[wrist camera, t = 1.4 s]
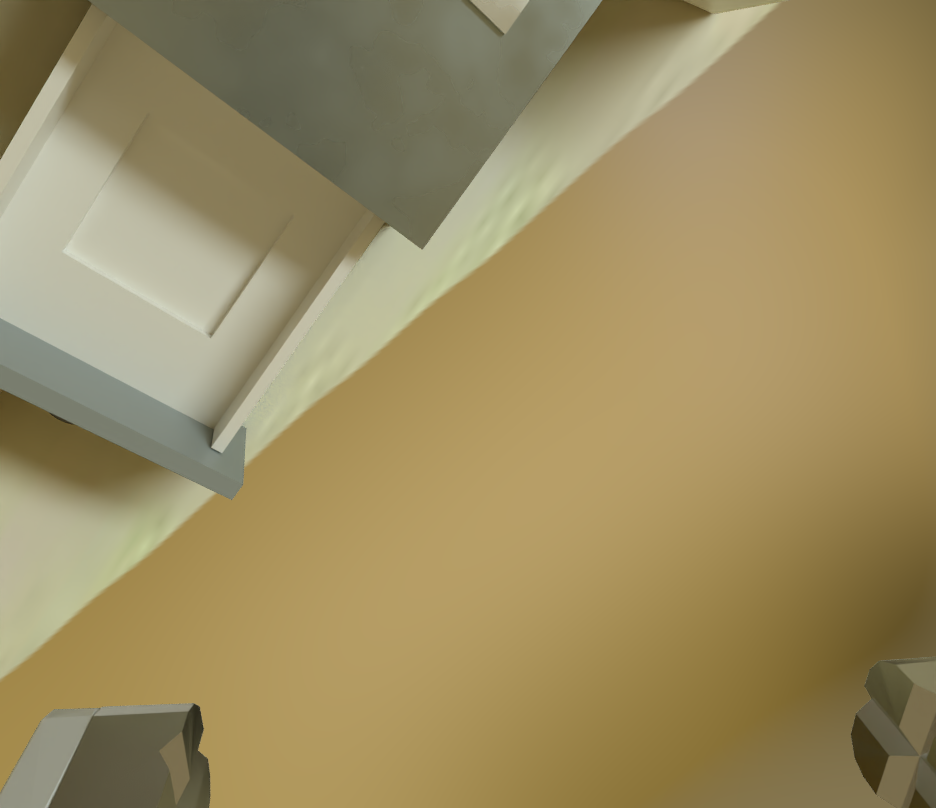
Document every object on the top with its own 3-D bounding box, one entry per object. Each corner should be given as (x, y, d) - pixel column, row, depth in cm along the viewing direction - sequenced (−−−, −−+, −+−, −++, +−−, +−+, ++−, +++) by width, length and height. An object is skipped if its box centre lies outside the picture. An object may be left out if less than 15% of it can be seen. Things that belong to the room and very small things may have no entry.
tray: (-92, 297, 34) (-167, 339, 28) (94, -20, 31) (54, -48, 25) (225, 458, 41) (218, 518, 35) (398, 212, 38) (423, 233, 32)
